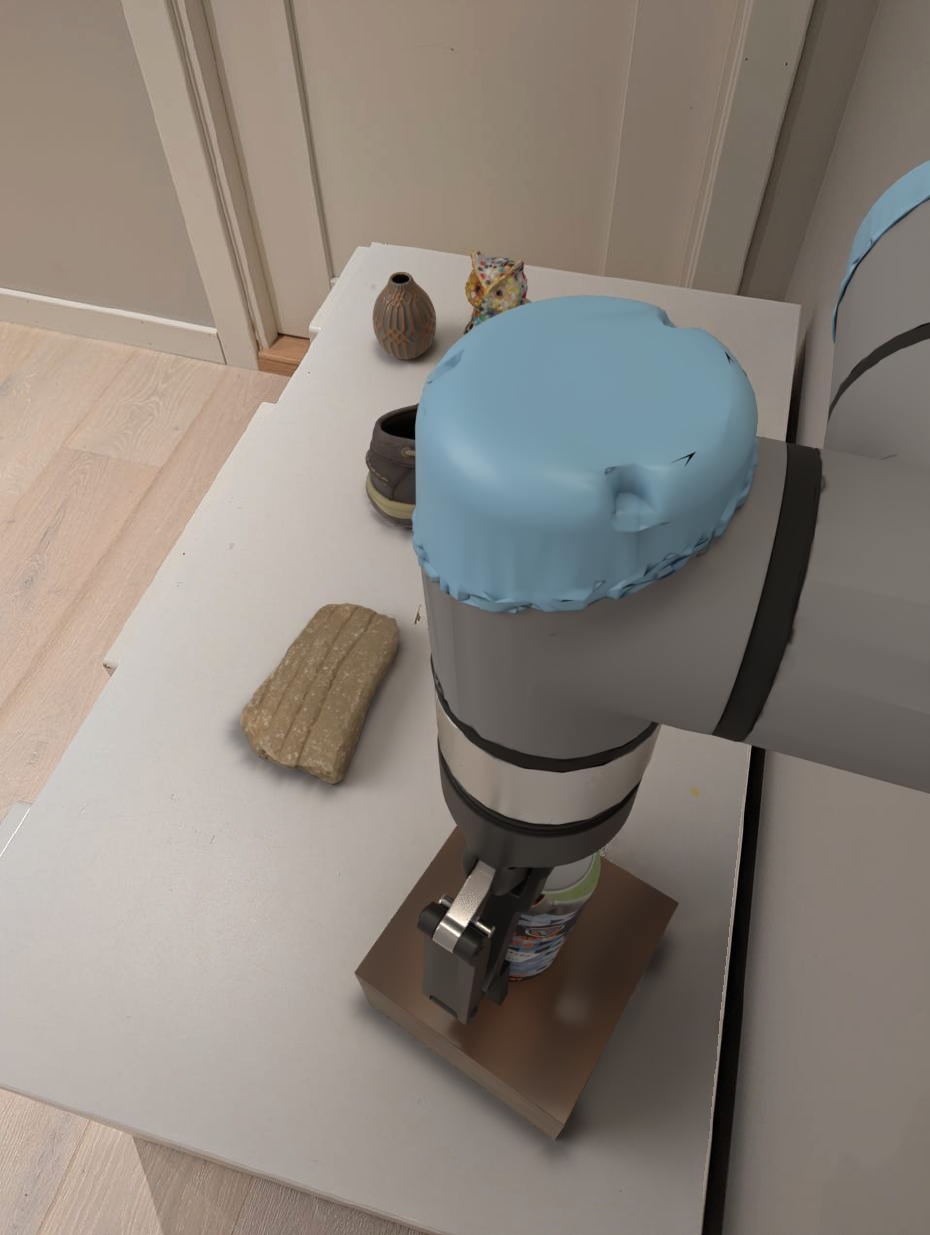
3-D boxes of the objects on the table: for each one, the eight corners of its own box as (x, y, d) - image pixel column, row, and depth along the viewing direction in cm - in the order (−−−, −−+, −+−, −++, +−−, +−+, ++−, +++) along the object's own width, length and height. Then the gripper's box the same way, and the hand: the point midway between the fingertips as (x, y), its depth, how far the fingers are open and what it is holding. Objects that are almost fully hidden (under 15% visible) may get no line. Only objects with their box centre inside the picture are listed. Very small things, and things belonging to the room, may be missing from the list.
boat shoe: (678, 480, 84) (700, 392, 75) (390, 561, 79) (378, 477, 70) (628, 410, 90) (643, 321, 81) (358, 481, 85) (343, 394, 76)
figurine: (469, 420, 90) (466, 291, 77) (461, 365, 95) (457, 236, 83) (551, 413, 90) (561, 284, 78) (539, 359, 95) (546, 230, 83)
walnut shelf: (658, 939, 59) (679, 902, 52) (554, 1140, 52) (564, 1125, 45) (484, 832, 63) (484, 785, 57) (369, 1003, 57) (353, 972, 50)
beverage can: (435, 926, 49) (423, 849, 40) (528, 845, 52) (538, 754, 43) (509, 1015, 47) (516, 956, 37) (603, 924, 49) (633, 846, 40)
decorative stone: (412, 632, 74) (409, 608, 71) (341, 794, 65) (334, 774, 62) (306, 605, 76) (300, 580, 73) (224, 758, 67) (213, 737, 64)
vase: (386, 326, 99) (378, 255, 92) (444, 334, 98) (441, 263, 91) (368, 363, 95) (358, 292, 88) (428, 372, 94) (423, 301, 87)
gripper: (587, 510, 37) (552, 756, 55) (274, 912, 27) (360, 1046, 45) (755, 585, 34) (659, 817, 53) (476, 1059, 24) (479, 1138, 43)
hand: (520, 923), depth 49 cm, fingers closed on beverage can, 7 cm apart
